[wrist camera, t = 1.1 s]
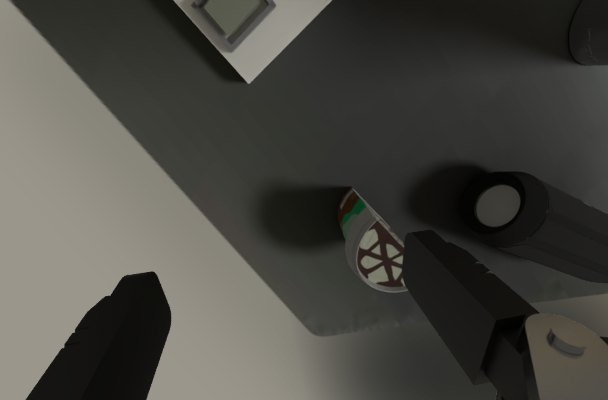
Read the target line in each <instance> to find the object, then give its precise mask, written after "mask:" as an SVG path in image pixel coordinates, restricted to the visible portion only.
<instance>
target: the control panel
mask: <svg viewBox="0 0 608 400" xmlns="http://www.w3.org/2000/svg"><path fill="white" fill-rule="evenodd" d="M259 1H260V4H259V6H258V7H257V8H256V9H255V10H254V11H253V12H252V13H251V15H250V16H249V17H248V18H247V19H246V20H245V21H244V23H243V24H242V25H241V26H240V27H239V28H238V29H237V30H236V32H235V33H234V34H233V35H232V36H228V35H227V34H226V33H225V32H224V30H223V29H222V28H221V27H220V26H219V25H218V24H217V22H216V21H215V20H214V19H213V18H212V17H211V15H210V14H209V13H208V12H207V11H206V10H205V8H204V7H205V5H206V4H207V3H208V2H209V0H174V2H175V3H176V4H177V5H178V6H179V7H180V8H181V9H182V10H183V12H184V13H185V14H186V15H187V16H188V17H189V18H190V19H191V20H192V22H193V23H194V24H195V25H196V26H197V27H198V28H199V29H200V30H201V32H202V33H203V34H204V35H205V36H206V37H207V38H208V39H209V40H210V42H211V43H212V44H213V45H214V46H215V47H216V48H217V49H218V51H219V52H220V53H221V54H222V55H223V56H224V57H225V58H226V59H227V61H228V62H229V63H230V64H231V65H232V66H233V67H234V68H235V69H236V71H237V72H238V73H239V74H240V75H241V76H242V77H243V78H244V79H245V81H246V82H247V83H248V84H249V83H250V82H251V81H252V80H253V79H254V78H255V77H256V76H257V75H258V74H259V73H260V72H261V71H262V70H263V69H264V68H265V67H266V66H267V65H268V64H269V63H270V62H271V61H272V60H273V59H274V58H275V57H276V56H277V55H278V54H279V53H280V52H281V51H282V50H283V49H284V48H285V47H286V46H287V45H288V44H289V43H290V42H291V41H292V40H293V39H294V38H295V37H296V36H297V35H298V34H299V33H300V32H301V31H302V30H303V29H304V28H305V27H306V26H307V25H308V24H309V23H310V22H311V21H312V20H313V19H314V18H315V17H316V16H317V15H318V14H319V13H320V12H321V11H322V10H323V9H324V8H325V7H326V6H327V5H328V4H329V3H330V2H331V1H332V0H259Z"/></svg>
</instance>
